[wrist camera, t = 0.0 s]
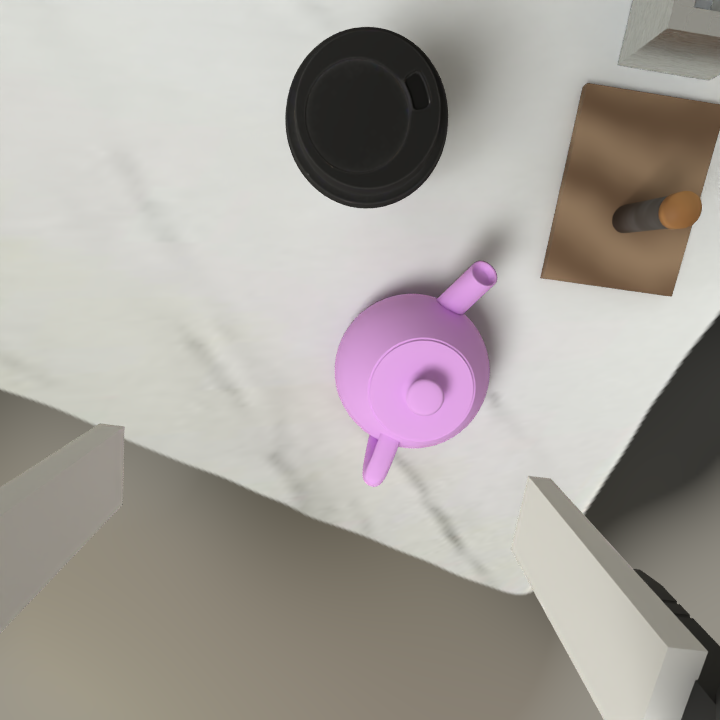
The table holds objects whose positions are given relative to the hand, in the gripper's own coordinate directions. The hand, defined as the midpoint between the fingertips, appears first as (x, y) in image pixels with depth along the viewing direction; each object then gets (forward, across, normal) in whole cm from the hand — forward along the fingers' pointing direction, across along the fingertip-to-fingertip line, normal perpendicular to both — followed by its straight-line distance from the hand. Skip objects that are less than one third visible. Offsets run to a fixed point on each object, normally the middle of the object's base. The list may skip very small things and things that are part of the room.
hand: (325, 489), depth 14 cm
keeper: (+28, +23, +16) cm, 40 cm away
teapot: (+28, +7, -1) cm, 29 cm away
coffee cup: (+28, 0, +15) cm, 32 cm away
